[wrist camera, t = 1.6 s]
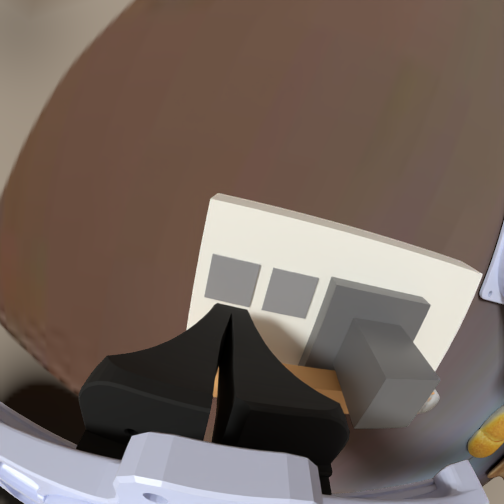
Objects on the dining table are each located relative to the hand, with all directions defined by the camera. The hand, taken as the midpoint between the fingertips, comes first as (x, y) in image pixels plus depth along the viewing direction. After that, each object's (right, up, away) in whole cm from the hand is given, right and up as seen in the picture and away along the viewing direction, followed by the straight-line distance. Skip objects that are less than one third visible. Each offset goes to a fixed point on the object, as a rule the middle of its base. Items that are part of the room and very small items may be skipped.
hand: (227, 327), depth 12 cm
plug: (+7, -1, +5) cm, 9 cm away
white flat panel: (+6, 0, +5) cm, 8 cm away
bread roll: (+32, -19, +11) cm, 39 cm away
